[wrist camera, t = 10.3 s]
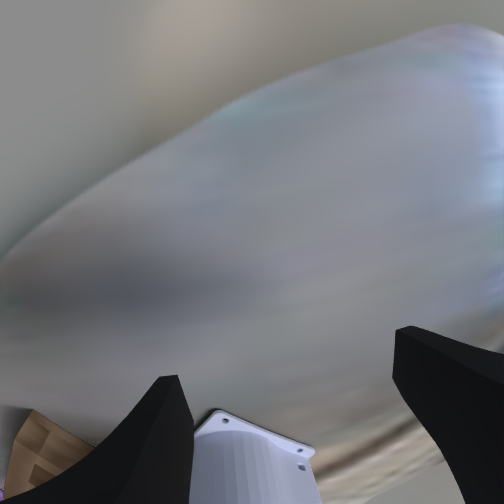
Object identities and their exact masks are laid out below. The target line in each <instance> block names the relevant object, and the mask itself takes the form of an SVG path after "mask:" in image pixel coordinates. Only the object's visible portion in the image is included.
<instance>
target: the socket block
mask: <svg viewBox="0 0 504 504" xmlns="http://www.w3.org/2000/svg"><path fill="white" fill-rule="evenodd" d="M93 449H95V448H94V447H93V446H91V445H89V444H87V443H85V442H84V441H82V440H80V439H79V438H77V437H75V436H73V435H72V434H70V433H68V432H67V431H65V430H64V429H62V428H60V427H59V426H57V425H56V424H54V423H53V422H51V421H50V420H48V419H47V418H45V417H44V416H42V415H41V414H39V413H38V412H36V411H35V410H34V409H33V410H32V412H31V413H30V415H29V416H28V418H27V420H26V421H25V423H24V424H23V426H22V428H21V429H20V431H19V432H18V434H17V436H16V437H15V439H14V443H13V447H12V451H11V455H10V460H9V465H8V469H7V474H6V480H5V485H4V491H3V497H2V498H4V499H8V498H10V497H13V496H16V495H18V494H21V493H24V492H26V491H28V490H31V489H33V488H35V487H37V486H39V485H41V484H43V483H45V482H47V481H49V480H50V479H52V478H54V477H56V476H57V475H59V474H61V473H62V472H64V471H65V470H67V469H68V468H70V467H71V466H72V465H74V464H75V463H77V462H78V461H80V460H81V459H82V458H84V457H85V456H86V455H88V454H89V453H90V452H91V451H92V450H93Z"/></svg>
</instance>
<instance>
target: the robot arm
mask: <svg viewBox="0 0 504 504" xmlns="http://www.w3.org/2000/svg"><path fill="white" fill-rule="evenodd" d="M392 378H393V380H394V382H395V384H396V386H397V388H398V390H399V392H400V394H401V395H402V397H403V399H404V401H405V402H406V403H407V405H408V406H409V407H410V409H411V410H412V412H413V413H414V414H415V416H416V417H417V418H418V420H419V421H420V422H421V424H422V425H423V426H424V428H425V429H426V430H427V432H428V433H429V434H430V436H431V437H432V438H433V440H434V441H435V443H436V444H437V446H438V447H439V449H440V450H441V452H442V454H443V456H444V458H445V460H446V461H447V463H448V465H449V467H450V469H451V471H452V473H453V475H454V478H455V480H456V482H457V484H458V486H459V488H460V491H461V493H462V496H463V498H464V501H465V504H504V354H501V353H496V352H492V351H488V350H485V349H481V348H477V347H474V346H471V345H468V344H465V343H462V342H459V341H456V340H453V339H450V338H447V337H444V336H442V335H439V334H436V333H433V332H430V331H428V330H425V329H422V328H418V327H415V326H407V327H404V328H401V329H398V330H396V333H395V350H394V363H393V375H392ZM225 418H226V419H227V420H223V419H225ZM314 453H315V450H314V448H313V447H310V446H307V445H305V444H302V443H299V442H296V441H294V440H291V439H288V438H286V437H283V436H280V435H278V434H275V433H273V432H270V431H268V430H265V429H263V428H261V427H258V426H256V425H254V424H251V423H249V422H247V421H244V420H242V419H240V418H237V417H235V416H233V415H231V414H229V413H227V412H224V411H222V410H217V411H214V412H213V413H212V414H211V415H210V416H209V417H208V418H207V419H206V421H205V422H204V423H203V424H202V425H201V426H200V427H199V428H198V429H197V430H196V431H195V432H194V420H193V418H192V415H191V412H190V410H189V407H188V404H187V401H186V398H185V396H184V393H183V390H182V387H181V384H180V381H179V378H178V375H171V376H162V377H159V378H158V379H157V380H156V381H155V382H154V384H153V385H152V386H151V387H150V389H149V390H148V391H147V392H146V394H145V395H144V396H143V397H142V399H141V400H140V401H139V402H138V404H137V405H136V406H135V407H134V408H133V410H132V411H131V412H130V413H129V414H128V416H127V417H126V418H125V419H124V420H123V421H122V422H121V423H120V424H119V425H118V426H117V427H116V428H115V429H114V431H113V432H112V433H111V434H110V435H109V436H108V437H107V438H106V439H105V440H104V441H103V442H101V443H100V444H99V445H98V446H97V447H96V448H95V449H93V450H92V451H91V452H90V453H89V454H88V455H86V456H85V457H84V458H82V459H81V460H80V461H78V462H77V463H75V464H74V465H72V466H71V467H70V468H68V469H67V470H65V471H64V472H62V473H61V474H59V475H57V476H56V477H54V478H52V479H50V480H49V481H47V482H45V483H43V484H41V485H39V486H37V487H35V488H33V489H31V490H28V491H26V492H24V493H21V494H18V495H16V496H13V497H10V498H8V499H5V500H2V501H0V504H323V503H322V500H321V497H320V494H319V491H318V488H317V484H316V481H315V478H314V475H313V472H312V469H311V465H310V462H309V458H310V457H311V456H312V455H314Z"/></svg>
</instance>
